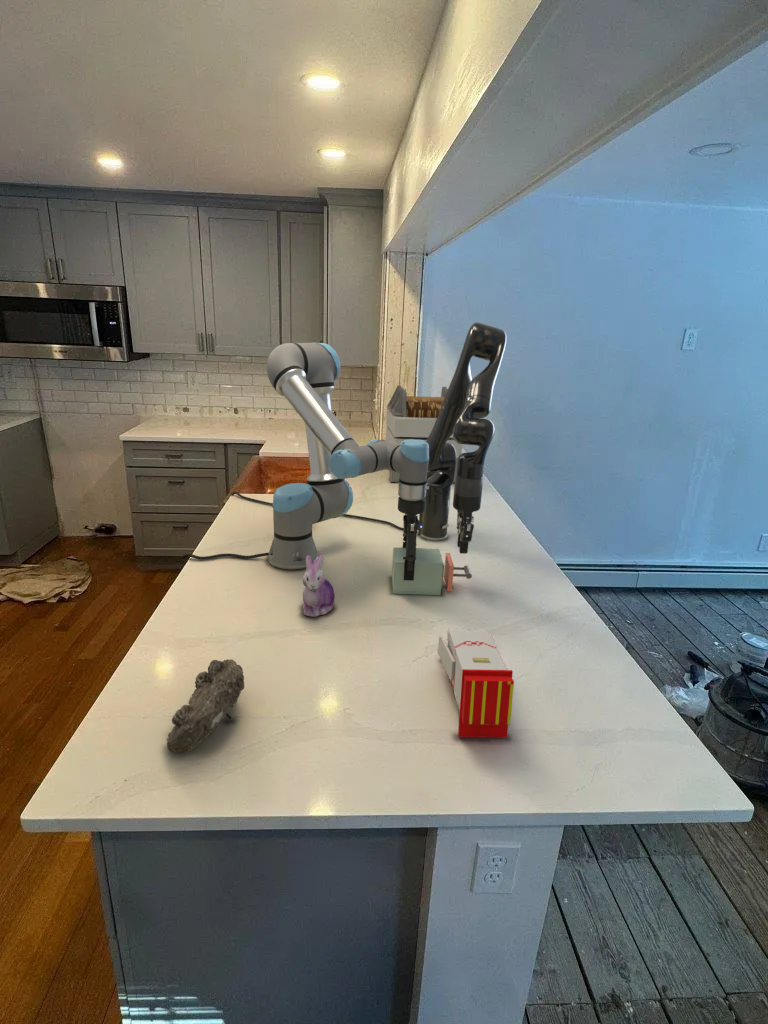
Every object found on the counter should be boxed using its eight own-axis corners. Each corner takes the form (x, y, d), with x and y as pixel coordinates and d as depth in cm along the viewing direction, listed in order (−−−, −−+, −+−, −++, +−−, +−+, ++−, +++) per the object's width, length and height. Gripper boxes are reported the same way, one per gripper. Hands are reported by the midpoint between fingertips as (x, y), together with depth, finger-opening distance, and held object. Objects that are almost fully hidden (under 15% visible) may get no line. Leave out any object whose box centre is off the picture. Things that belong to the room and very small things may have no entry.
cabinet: (436, 578, 168) (439, 548, 165) (440, 595, 158) (443, 563, 155) (391, 577, 167) (393, 547, 164) (392, 593, 158) (394, 562, 155)
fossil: (192, 660, 117) (244, 628, 112) (224, 691, 120) (276, 661, 115) (142, 746, 98) (202, 712, 93) (182, 779, 101) (242, 748, 96)
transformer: (382, 463, 289) (386, 382, 275) (445, 464, 293) (451, 384, 279) (390, 482, 257) (394, 392, 243) (460, 483, 261) (468, 394, 247)
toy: (488, 613, 130) (523, 677, 101) (484, 667, 133) (517, 744, 104) (435, 612, 130) (455, 676, 101) (432, 666, 133) (451, 743, 103)
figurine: (307, 621, 142) (307, 567, 137) (294, 603, 150) (293, 551, 145) (342, 614, 146) (343, 561, 141) (327, 596, 154) (328, 545, 149)
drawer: (466, 577, 167) (469, 553, 165) (471, 592, 159) (474, 566, 156) (406, 575, 167) (408, 551, 164) (408, 590, 158) (409, 564, 156)
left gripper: (429, 511, 143) (424, 590, 151) (422, 485, 165) (417, 555, 172) (400, 510, 143) (395, 589, 150) (396, 484, 164) (393, 554, 172)
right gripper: (486, 500, 147) (479, 561, 153) (477, 484, 160) (471, 540, 166) (457, 499, 147) (452, 560, 153) (450, 483, 160) (445, 539, 166)
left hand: (407, 571), depth 161 cm, fingers closed on cabinet, 10 cm apart
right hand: (462, 549), depth 159 cm, fingers open, 3 cm apart
